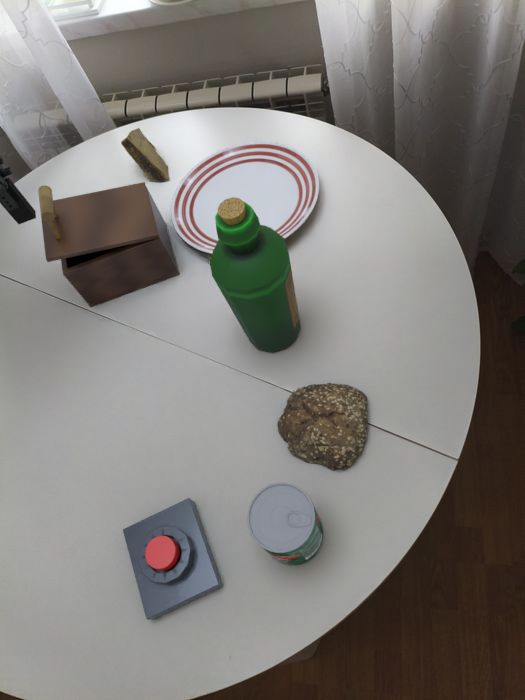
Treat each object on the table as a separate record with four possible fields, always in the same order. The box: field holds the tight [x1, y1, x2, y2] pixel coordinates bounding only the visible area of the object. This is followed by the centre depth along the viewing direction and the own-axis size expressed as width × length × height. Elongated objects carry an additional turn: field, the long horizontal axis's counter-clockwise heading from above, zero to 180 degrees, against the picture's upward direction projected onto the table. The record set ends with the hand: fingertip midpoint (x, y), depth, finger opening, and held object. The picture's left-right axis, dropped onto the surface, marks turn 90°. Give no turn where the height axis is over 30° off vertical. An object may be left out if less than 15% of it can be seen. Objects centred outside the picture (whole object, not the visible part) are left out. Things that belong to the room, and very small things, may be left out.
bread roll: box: [276, 382, 369, 471], centre depth 77 cm, size 13×12×5 cm
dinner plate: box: [170, 141, 320, 255], centre depth 101 cm, size 27×27×3 cm
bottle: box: [208, 197, 301, 353], centre depth 76 cm, size 11×11×28 cm
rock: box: [120, 127, 171, 183], centre depth 110 cm, size 11×9×10 cm
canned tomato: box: [246, 482, 325, 567], centre depth 68 cm, size 8×8×11 cm
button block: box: [122, 497, 224, 621], centre depth 72 cm, size 12×10×4 cm
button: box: [145, 536, 180, 571], centre depth 70 cm, size 4×4×2 cm
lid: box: [37, 182, 159, 263], centre depth 88 cm, size 18×13×7 cm
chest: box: [60, 186, 180, 308], centre depth 97 cm, size 17×13×10 cm
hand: (26, 217), depth 80 cm, fingers closed
